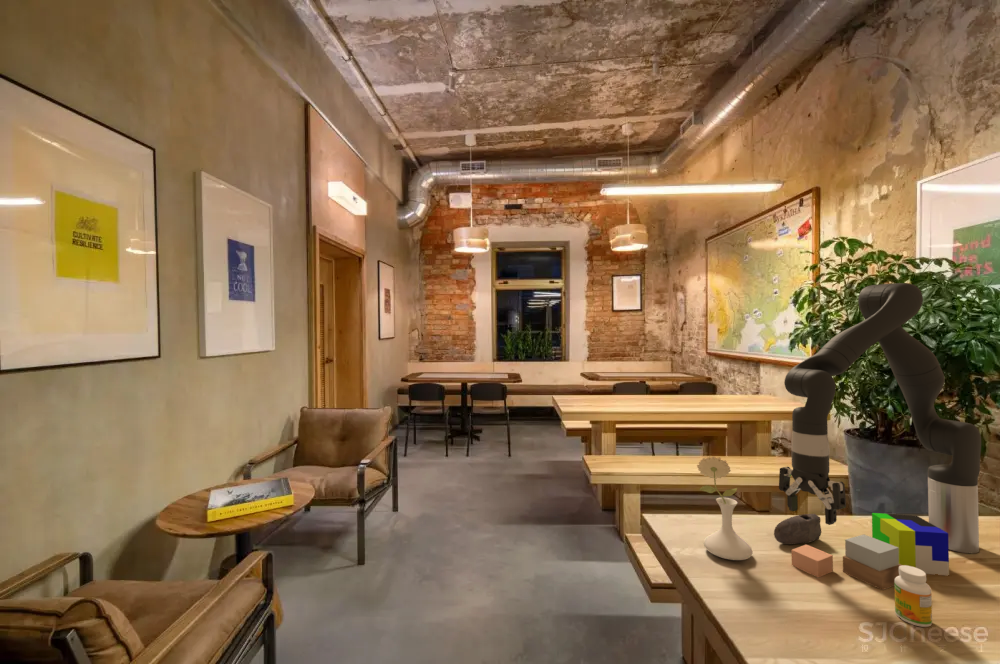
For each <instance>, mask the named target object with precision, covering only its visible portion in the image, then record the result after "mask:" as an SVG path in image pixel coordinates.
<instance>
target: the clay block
mask: <svg viewBox="0 0 1000 664" xmlns="http://www.w3.org/2000/svg"><path fill="white" fill-rule="evenodd" d="M833 557H834V556H833V554H831V553H829V552H828V553H827V552H826V551H823V550H820V549H818V548H816V547H813V546H812V545H809V544H803V545H801V546H798V547H796V548H792V549H791V566H792V565H793V566H792V567H795V568H797V569H799V568H800V569H799V570H800V571H803V572H805V573H808V574H810V575H812V576H814V577H816V578H820V577H822V576H825V575H827V574H830V573H832V572H834V558H833Z"/></svg>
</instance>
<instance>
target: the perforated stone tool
mask: <svg viewBox="0 0 1000 664" xmlns="http://www.w3.org/2000/svg"><path fill="white" fill-rule="evenodd" d="M773 535H774V538H775V540H776V541H777V542H778V543H780V544H785V545H796V544H797V545H799V544H807V543H810V542H814V541H818V540H820V537H821V535H822V527H821V517H820V516H819V515H817V514H816V513H805V514H804V513H803V514H798V515H794V516H790V517H788V518H786V519H784V520H781V521H779V523H778V524H776V526H775V527H774V531H773Z"/></svg>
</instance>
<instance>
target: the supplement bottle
mask: <svg viewBox="0 0 1000 664" xmlns="http://www.w3.org/2000/svg"><path fill="white" fill-rule="evenodd" d="M899 575H900V576H897V577H896V578H895V582H894V584H895V585H894V612H895V615H896V616H897V617H898V618H899V617H900V618H901V619H900V618H899V619H900V620H903V621H904V622H906V623H907V624H909V625H914V626H917V627H922V628H928V627H931V626H932V624H933V613H932V612H933V607H932V606H933V604H932V603H933V601H932V599H933V598H932V589H931V586H930V585H929V584H928V583H926V582H927V574H926V573H925V572H924V571H922V570H920V569H918V568H915V567H912V566H906V565H902V566H899Z"/></svg>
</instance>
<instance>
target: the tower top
mask: <svg viewBox="0 0 1000 664" xmlns="http://www.w3.org/2000/svg"><path fill="white" fill-rule="evenodd" d="M844 541H845V544H844V545H845V555H846V557H849V558H851V559H853V560H855V561H858V562H860V563H862V564H864V565H867V566H869V567H871V568H874V569H876V570H878V571H882V570H885V569H888V568H891V567H894V566H897V565H899V548H898V547H896V546H893V545H891V544H888V543H885V542H883V541H880V540H877V539H875V538H872V536H870V535H868V534H867V535H866V534H860V535H857V536H854V537H853V536H852V537H850V538H845V539H844ZM845 555H844V556H845Z"/></svg>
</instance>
